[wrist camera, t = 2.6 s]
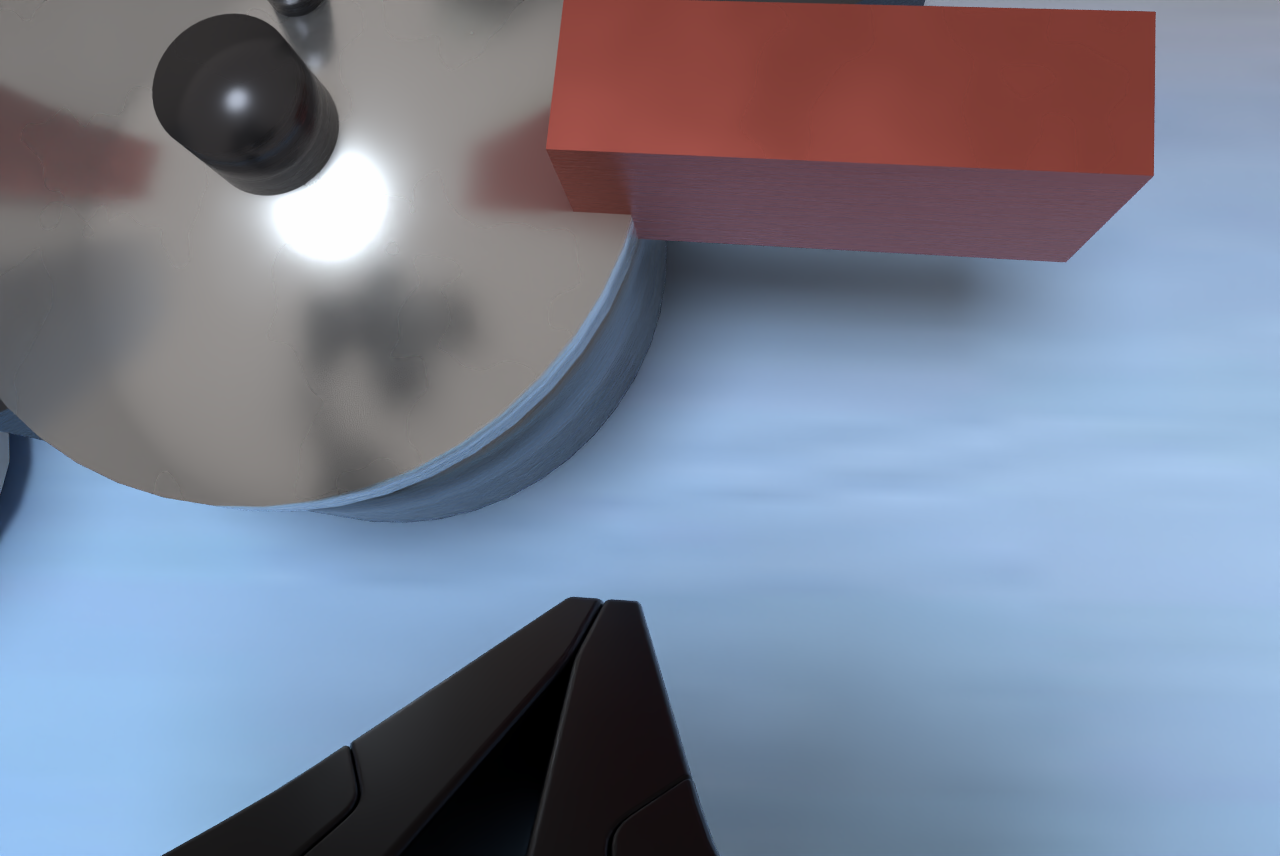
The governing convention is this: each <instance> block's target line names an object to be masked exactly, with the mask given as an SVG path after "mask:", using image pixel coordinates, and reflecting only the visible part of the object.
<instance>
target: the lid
mask: <svg viewBox="0 0 1280 856" xmlns="http://www.w3.org/2000/svg"><path fill="white" fill-rule="evenodd" d="M1155 16H1156V12H1147V11H1106V10H1066V9H1025V8H985V7H944V6H904V5H863V4H822V3H782V2H741V1H701V0H0V399H1V400H2V401H3V403H4V404H5V405H6V406H7V407H8V408H9V409H10V410H11V411H12V412H13V413H14V414H15V415H16V416H17V417H18V418H20V419H21V420H22V421H23V422H24V423H25V424H26V425H27V426H28V427H29V428H30V429H31V430H32V431H33V432H34V433H35V434H37V435H38V436H39V437H40V438H42V439H43V440H44V441H46V442H47V443H49V444H50V445H52V446H53V447H55V448H56V449H57V450H59V451H60V452H62V453H63V454H65V455H66V456H68V457H69V458H71V459H72V460H73V461H75V462H76V463H78V464H80V465H82V466H84V467H87V468H89V469H91V470H93V471H95V472H97V473H99V474H101V475H103V476H105V477H107V478H109V479H111V480H113V481H115V482H117V483H120V484H123V485H126V486H129V487H132V488H136V489H139V490H142V491H145V492H148V493H151V494H155V495H158V496H161V497H165V498H171V499H177V500H183V501H189V502H195V503H201V504H207V505H213V506H220V507H226V508H233V509H240V510H250V511H291V512H293V511H302V510H310V509H319V508H328V507H337V506H343V505H347V504H351V503H355V502H359V501H363V500H367V499H371V498H375V497H379V496H383V495H387V494H389V493H392V492H394V491H397V490H399V489H402V488H404V487H407V486H410V485H412V484H415V483H417V482H420V481H422V480H425V479H427V478H430V477H432V476H434V475H436V474H438V473H440V472H441V471H443V470H445V469H447V468H449V467H451V466H452V465H454V464H456V463H458V462H460V461H461V460H463V459H465V458H467V457H469V456H471V455H472V454H474V453H476V452H477V451H479V450H480V449H481V448H483V447H484V446H486V445H487V444H488V443H490V442H491V441H492V440H494V439H495V438H497V437H498V436H499V435H501V434H502V433H503V432H505V431H506V430H508V429H509V428H510V427H512V426H513V425H514V424H516V423H517V422H518V421H519V420H520V419H521V418H522V417H523V416H524V415H525V414H526V413H527V412H529V411H530V410H531V409H532V408H533V407H534V406H535V405H536V404H537V403H538V402H539V401H540V400H541V399H542V398H543V397H544V396H546V395H547V394H548V393H549V392H550V391H551V390H552V389H553V388H554V386H555V385H556V384H557V383H558V382H559V380H560V379H561V378H562V377H563V376H564V374H565V373H566V372H567V371H568V369H569V368H570V367H571V366H572V365H573V363H574V362H575V361H576V360H577V359H578V357H579V356H580V355H581V354H582V352H583V351H584V350H585V348H586V346H587V345H588V343H589V342H590V340H591V339H592V337H593V335H594V334H595V332H596V331H597V329H598V327H599V326H600V324H601V323H602V321H603V319H604V318H605V316H606V315H607V313H608V312H609V310H610V308H611V306H612V303H613V301H614V299H615V297H616V295H617V293H618V290H619V288H620V286H621V284H622V282H623V280H624V277H625V275H626V273H627V271H628V269H629V267H630V264H631V260H632V257H633V254H634V251H635V248H636V244H637V241H638V239H651V240H669V241H688V242H706V243H724V244H742V245H761V246H779V247H797V248H815V249H833V250H852V251H870V252H888V253H906V254H925V255H943V256H961V257H979V258H997V259H1016V260H1034V261H1052V262H1066V261H1068V260H1069V259H1070V258H1071V257H1072V256H1073V255H1074V254H1075V253H1076V252H1077V251H1078V250H1079V249H1080V248H1081V247H1082V246H1083V245H1084V244H1085V243H1086V242H1087V241H1088V240H1089V239H1090V238H1091V237H1092V236H1093V235H1094V234H1095V233H1096V232H1097V231H1098V230H1099V229H1100V228H1101V227H1102V226H1103V225H1104V224H1105V223H1106V222H1107V221H1108V220H1109V219H1110V218H1111V217H1112V216H1113V215H1114V214H1115V213H1116V212H1117V211H1118V210H1119V209H1120V208H1121V207H1122V206H1124V205H1125V204H1126V203H1127V202H1128V201H1129V200H1130V199H1131V198H1132V197H1133V196H1134V195H1135V194H1136V193H1137V192H1138V191H1139V190H1140V189H1141V188H1142V187H1143V186H1144V185H1145V184H1146V183H1147V182H1148V181H1149V180H1150V179H1151V178H1152V177H1153V176H1154V104H1155Z"/></svg>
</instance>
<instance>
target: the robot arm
mask: <svg viewBox="0 0 1280 856" xmlns="http://www.w3.org/2000/svg"><path fill="white" fill-rule="evenodd" d="M350 748H351V749H350ZM162 856H719V853H718V851H717V849H716V847H715V844H714V842H713V839H712V836H711V833H710V830H709V828H708V825H707V822H706V819H705V816H704V813H703V810H702V807H701V804H700V801H699V797H698V794H697V790H696V787H695V784H694V782H693V781H692V776H691V773H690V769H689V766H688V763H687V759H686V756H685V752H684V749H683V746H682V742H681V739H680V735H679V732H678V729H677V725H676V722H675V718H674V715H673V712H672V708H671V705H670V702H669V698H668V695H667V691H666V688H665V685H664V681H663V678H662V674H661V671H660V668H659V664H658V661H657V657H656V654H655V651H654V647H653V644H652V640H651V637H650V634H649V630H648V627H647V623H646V620H645V616H644V613H643V610H642V606H641V604H640V603H639V602H637V601H626V600H612V599H611V600H607V601H605V603H603V601H602V600H600V599H597V598H582V597H570V598H567V599H565V600H564V601H562V602H561V603H559V604H558V605H556V606H555V607H553V608H552V609H550V610H549V611H547V612H546V613H544V614H543V615H541V616H540V617H538V618H537V619H535V620H534V621H532V622H531V623H529V624H528V625H526V626H525V627H523V628H522V629H520V630H519V631H517V632H516V633H514V634H513V635H511V636H510V637H508V638H507V639H505V640H504V641H502V642H501V643H499V644H498V645H496V646H495V647H493V648H492V649H490V650H489V651H487V652H486V653H484V654H483V655H481V656H480V657H478V658H477V659H476V660H474V661H473V662H471V663H470V664H468V665H467V666H465V667H464V668H462V669H461V670H459V671H458V672H456V673H455V674H453V675H452V676H450V677H449V678H447V679H446V680H444V681H443V682H441V683H440V684H438V685H437V686H435V687H434V688H432V689H431V690H429V691H428V692H426V693H425V694H423V695H422V696H420V697H419V698H417V699H416V700H414V701H413V702H411V703H410V704H408V705H407V706H405V707H404V708H402V709H401V710H399V711H398V712H396V713H395V714H393V715H392V716H390V717H389V718H387V719H386V720H384V721H383V722H381V723H380V724H378V725H377V726H375V727H374V728H372V729H371V730H369V731H368V732H366V733H365V734H363V735H362V736H360V737H359V738H357V739H356V740H354V741H353V742H352V743H351V745H350V747H349V746H343V747H342V748H340V749H339V750H337V751H336V752H334V753H333V754H331V755H330V756H328V757H327V758H325V759H324V760H322V761H321V762H319V763H318V764H316V765H315V766H313V767H312V768H310V769H308V770H307V771H305V772H304V773H302V774H301V775H299V776H297V777H296V778H294V779H293V780H291V781H290V782H288V783H286V784H285V785H283V786H282V787H280V788H279V789H277V790H275V791H274V792H272V793H271V794H269V795H267V796H265V797H264V798H262V799H260V800H259V801H257V802H255V803H253V804H252V805H250V806H248V807H247V808H245V809H243V810H241V811H240V812H238V813H236V814H235V815H233V816H231V817H229V818H228V819H226V820H224V821H223V822H221V823H219V824H217V825H216V826H214V827H212V828H210V829H208V830H207V831H205V832H203V833H201V834H199V835H198V836H196V837H194V838H192V839H190V840H189V841H187V842H185V843H183V844H182V845H180V846H178V847H176V848H174V849H173V850H171V851H169V852H167V853H165V854H164V855H162Z"/></svg>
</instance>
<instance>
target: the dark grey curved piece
mask: <svg viewBox="0 0 1280 856" xmlns="http://www.w3.org/2000/svg"><path fill="white" fill-rule="evenodd" d="M701 1H741V2H782V3H822V4H863V5H904V6H923V5H924V2H925V0H701ZM666 246H667V245H666V240H651V239H638V241H637V244H636V248H635V251H634V254H633V257H632V260H631V264H630V267H629V269H628V271H627V273H626V275H625V277H624V280H623V282H622V284H621V286H620V288H619V290H618V293H617V295H616V297H615V299H614V301H613V303H612V306H611V308H610V310H609V312H608V313H607V315H606V316H605V318H604V319H603V321H602V323H601V324H600V326H599V327H598V329H597V331H596V332H595V334H594V335H593V337H592V339H591V340H590V342H589V343H588V345H587V346H586V348H585V350H584V351H583V352H582V354H581V355H580V356H579V357H578V359H577V360H576V361H575V362H574V363H573V365H572V366H571V367H570V368H569V369H568V371H567V372H566V373H565V374H564V376H563V377H562V378H561V379H560V380H559V382H558V383H557V384H556V385H555V386H554V388H553V389H552V390H551V391H550V392H549V393H548V394H547V395H546V396H544V397H543V398H542V399H541V400H540V401H539V402H538V403H537V404H536V405H535V406H534V407H533V408H532V409H531V410H530V411H529V412H527V413H526V414H525V415H524V416H523V417H522V418H521V419H520V420H519V421H518V422H517V423H516V424H514V425H513V426H512V427H510V428H509V429H508V430H506V431H505V432H503V433H502V434H501V435H499V436H498V437H497V438H495V439H494V440H492V441H491V442H490V443H488V444H487V445H486V446H484V447H483V448H481V449H480V450H479V451H477V452H476V453H474V454H472V455H471V456H469V457H467V458H465V459H463V460H461V461H460V462H458V463H456V464H454V465H452V466H451V467H449V468H447V469H445V470H443V471H441V472H440V473H438V474H436V475H434V476H432V477H430V478H427V479H425V480H422V481H420V482H417V483H415V484H412V485H410V486H407V487H404V488H402V489H399V490H397V491H394V492H392V493H389V494H387V495H383V496H379V497H375V498H371V499H367V500H363V501H359V502H355V503H351V504H347V505H343V506H337V507H328V508H319V509H310V510H306V511H312V512H318V513H324V514H330V515H336V516H342V517H348V518H354V519H360V520H366V521H372V522H415V521H424V520H433V519H442V518H446V517H450V516H454V515H458V514H462V513H466V512H470V511H474V510H477V509H480V508H482V507H485V506H487V505H490V504H492V503H495V502H498V501H500V500H503V499H505V498H508V497H510V496H512V495H513V494H515V493H517V492H519V491H521V490H523V489H524V488H526V487H528V486H530V485H532V484H533V483H535V482H537V481H539V480H540V479H542V478H543V477H545V476H546V475H547V474H549V473H550V472H551V471H553V470H554V469H556V468H557V467H558V466H560V465H561V464H562V463H564V462H565V461H566V460H568V459H569V458H570V457H571V456H572V455H573V454H574V453H575V452H576V451H577V450H579V449H580V448H581V447H582V446H583V445H584V444H585V443H586V442H587V441H588V440H589V439H590V438H591V437H592V436H593V435H594V434H595V433H596V432H597V431H598V429H599V428H600V427H601V426H602V425H603V423H604V422H605V421H606V420H607V418H608V417H609V416H610V415H611V414H612V412H613V411H614V410H615V409H616V407H617V406H618V404H619V403H620V401H621V400H622V398H623V396H624V395H625V393H626V392H627V390H628V388H629V387H630V385H631V384H632V382H633V380H634V379H635V377H636V375H637V373H638V371H639V368H640V366H641V364H642V362H643V360H644V357H645V355H646V353H647V351H648V349H649V346H650V344H651V340H652V337H653V334H654V331H655V327H656V324H657V321H658V317H659V314H660V310H661V304H662V298H663V291H664V285H665V279H666ZM0 431H1V432H6V433H11V434H16V435H21V436H25V437H30V438H35V439H40V440H43V439H42V438H40V437H39V436H38V435H37V434H35V433H34V432H33V431H32V430H31V429H30V428H29V427H28V426H27V425H26V424H25V423H24V422H23V421H22V420H21V419H20V418H18V417H17V416H16V415H15V414H14V413H13V412H12V411H11V410H10V409H9V408H8V407H7V406H6V405H5V404H4V403H3V401H2V400H1V399H0Z"/></svg>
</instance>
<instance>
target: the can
mask: <svg viewBox="0 0 1280 856" xmlns="http://www.w3.org/2000/svg"><path fill="white" fill-rule="evenodd" d="M8 465H9V433H6V432H1V431H0V494H1V490H2V486H3V483H4V479H5V476H6V472H7V468H8Z"/></svg>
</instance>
